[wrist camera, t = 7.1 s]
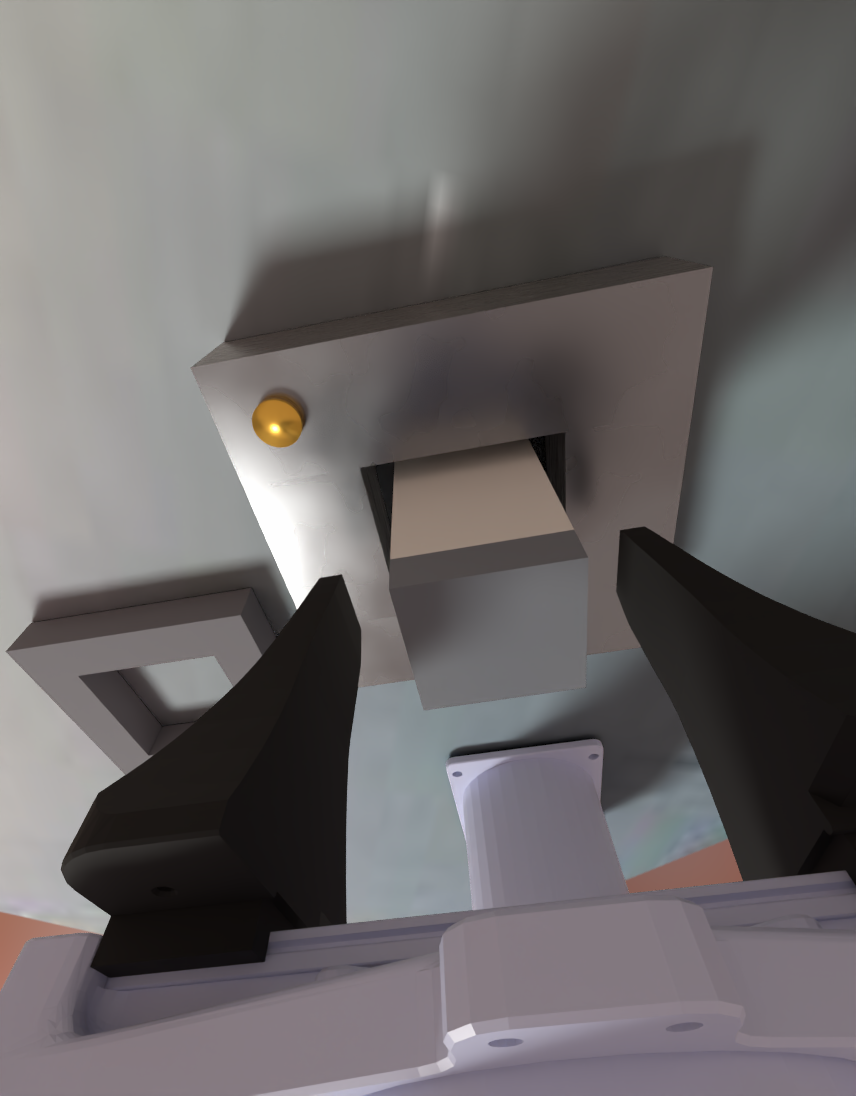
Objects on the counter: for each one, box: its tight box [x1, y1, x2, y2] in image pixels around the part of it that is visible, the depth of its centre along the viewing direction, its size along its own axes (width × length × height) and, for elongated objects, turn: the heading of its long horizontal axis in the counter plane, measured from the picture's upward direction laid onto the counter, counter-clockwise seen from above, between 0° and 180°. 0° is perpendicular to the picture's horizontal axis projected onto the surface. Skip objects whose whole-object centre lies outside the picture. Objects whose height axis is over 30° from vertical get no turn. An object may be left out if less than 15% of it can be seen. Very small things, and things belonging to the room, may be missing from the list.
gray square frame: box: [6, 588, 276, 775], centre depth 21 cm, size 9×9×2 cm
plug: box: [389, 439, 588, 710], centre depth 14 cm, size 4×4×7 cm
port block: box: [191, 256, 713, 687], centre depth 16 cm, size 12×12×3 cm
